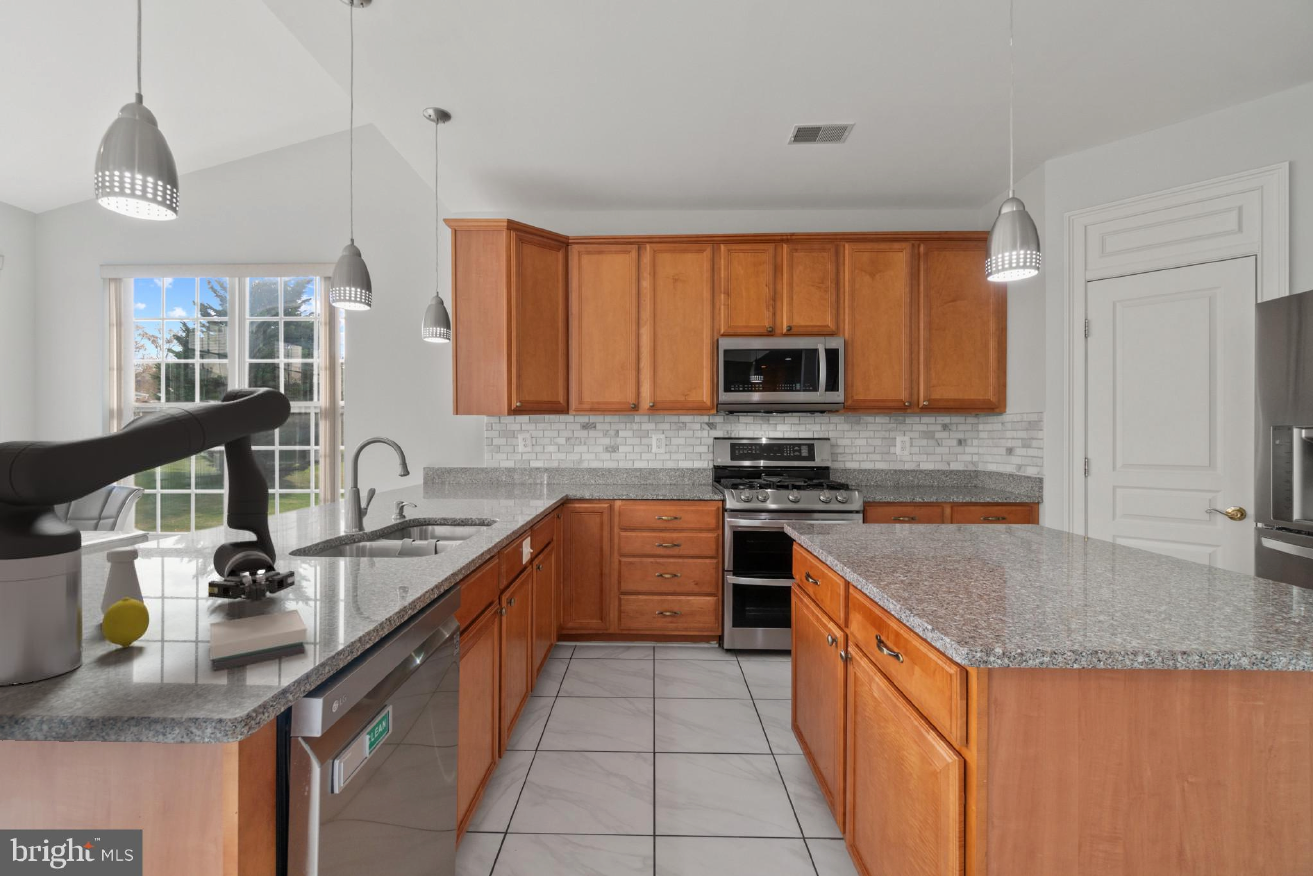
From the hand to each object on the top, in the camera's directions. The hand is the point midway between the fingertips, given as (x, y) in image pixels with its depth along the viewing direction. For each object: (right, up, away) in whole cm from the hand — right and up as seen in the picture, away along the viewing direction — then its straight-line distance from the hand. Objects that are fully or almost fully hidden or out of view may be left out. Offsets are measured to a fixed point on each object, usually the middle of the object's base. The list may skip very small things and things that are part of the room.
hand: (256, 595), depth 92 cm
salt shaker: (-33, -8, +12) cm, 36 cm away
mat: (+2, -8, -3) cm, 9 cm away
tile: (-2, -6, +3) cm, 7 cm away
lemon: (-20, -8, -2) cm, 21 cm away
